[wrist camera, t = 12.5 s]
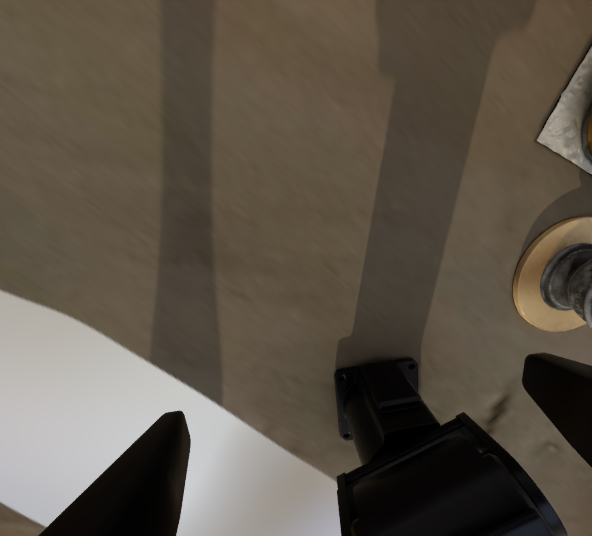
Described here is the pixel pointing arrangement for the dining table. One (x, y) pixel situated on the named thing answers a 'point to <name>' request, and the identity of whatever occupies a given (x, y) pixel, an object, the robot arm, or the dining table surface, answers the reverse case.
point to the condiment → (573, 119)
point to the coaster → (532, 270)
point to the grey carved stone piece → (570, 281)
